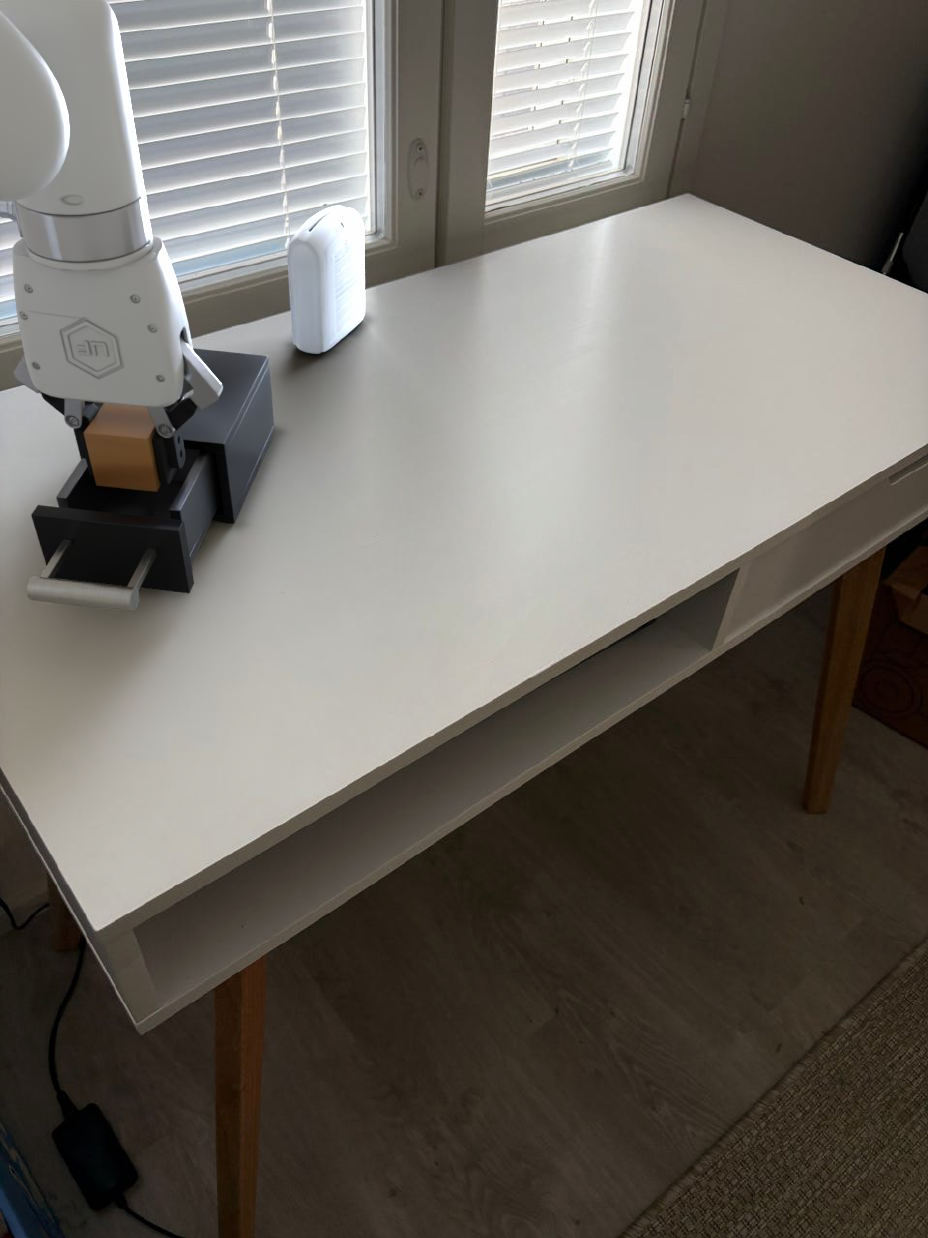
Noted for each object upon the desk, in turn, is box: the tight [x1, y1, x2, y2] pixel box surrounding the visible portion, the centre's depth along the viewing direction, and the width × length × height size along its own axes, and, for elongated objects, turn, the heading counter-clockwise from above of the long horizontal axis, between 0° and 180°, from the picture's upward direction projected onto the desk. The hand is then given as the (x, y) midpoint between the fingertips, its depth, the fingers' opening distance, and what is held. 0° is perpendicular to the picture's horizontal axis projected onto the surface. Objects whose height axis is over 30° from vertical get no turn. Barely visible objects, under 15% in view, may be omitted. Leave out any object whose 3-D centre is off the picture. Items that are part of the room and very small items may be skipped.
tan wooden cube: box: [84, 403, 162, 492], centre depth 73 cm, size 4×4×4 cm
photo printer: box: [286, 205, 366, 355], centre depth 100 cm, size 10×4×12 cm, turn 157°
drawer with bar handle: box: [26, 448, 222, 612], centre depth 74 cm, size 18×10×6 cm, turn 174°
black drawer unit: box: [72, 347, 276, 525], centre depth 83 cm, size 14×12×8 cm
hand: (136, 467), depth 74 cm, fingers closed on tan wooden cube, 4 cm apart
